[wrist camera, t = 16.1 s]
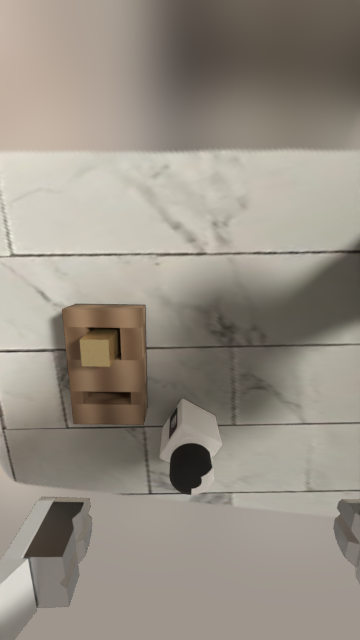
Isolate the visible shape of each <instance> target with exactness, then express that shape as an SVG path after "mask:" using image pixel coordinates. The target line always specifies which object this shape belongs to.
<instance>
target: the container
mask: <svg viewBox="0 0 360 640" xmlns="http://www.w3.org/2000/svg"><path fill="white" fill-rule="evenodd" d="M221 446H222V442H221V438H220V434H219V430H218V425H217V421H216V417H215V415H213V414H211V413H209V412H207V411H205V410H203V409H202V408H200V407H198V406H196V405H194V404H192V403H190V402H189V401H187V400H185V399H181V400H180V402H179V403H178V405H177V406H176V408H175V409H174V411H173V412H172V414H171V415H170V417H169V418H168V420H167V421H166V423H165V424H164V426H163V428H162V437H161V446H160V456H159V457H160V459H162V460H164V461H166V462H168V463H170V481H171V483H172V485H173V486H174V487H175V488H176V489H177V490H178V491H180V492H182V493H184V494H188V495H195V494H200V493H202V492H204V491H206V490H207V489H208V488H209V487H210V486H211V484H212V483H213V481H214V468H213V462H212V458H213V456H214V455H215V454H216V452H217V451H218V450H219V448H220V447H221Z"/></svg>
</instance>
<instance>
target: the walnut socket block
mask: <svg viewBox="0 0 360 640" xmlns="http://www.w3.org/2000/svg"><path fill="white" fill-rule="evenodd" d="M62 315H63V325H64V335H65V345H66V354H67V364H68V374H69V384H70V393H71V403H72V413H73V423H74V424H123V425H144V421H145V417H146V412H147V408H148V404H147V352H146V305H127V304H74V305H71V306H69V307H66V308H64V309H62ZM96 327H104V328H120V337H121V351H120V353H119V354H118V356H117V357H116V359H115V360H114V361H113V363H112V364H111V366H110V367H98V366H82V362H81V350H80V339H81V338H82V337H84V336H85V335H86V334H88V333H89V332H90V331H92V330H93V329H94V328H96Z"/></svg>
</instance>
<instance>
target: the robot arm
mask: <svg viewBox="0 0 360 640" xmlns="http://www.w3.org/2000/svg"><path fill="white" fill-rule="evenodd" d="M90 507H91V505H90V499H89V498H69V497H41V498H40V499H39V500H38V501H37V502H36V504H35V505H34V507H33V508H32V510H31V512H30V513H29V515H28V517H27V518H26V520H25V522H24V523H23V525H22V527H21V528H20V530H19V531H18V533H17V535H16V536H15V538H14V540H13V541H12V543H11V545H10V546H9V548H8V550H7V551H6V553H5V554H4V556H3V558H0V640H15V639H16V637H17V636H18V635H19V633H20V632H21V631H22V630H23V628H24V627H25V626H26V624H27V623H28V622H29V621H30V619H31V618H32V617H33V615H34V614H35V613H36V611H37V608H53V607H69V606H70V603H71V600H72V597H73V593H74V590H75V587H76V584H77V581H78V578H79V566H78V564H79V563H80V562H81V561H82V559H83V558H84V557H85V556H86V553H87V550H88V546H89V542H90V538H91V532H92V517H91V516H90V515H89V514H88V513H89V510H90ZM337 509H338V510H339V512H340V515H339V516H338V517H337V518H336V519H335V521H334V532H335V537H336V540H337V543H338V545H339V548H340V549H341V551H342V553H343V555H344V557H345V558H346V559H347V560H348V561H349V562H350V563H351V564H353V565H354V566H355V571H356V578H357V580H358V581H359V583H360V499H342V500H340V501H339V502H338V507H337Z"/></svg>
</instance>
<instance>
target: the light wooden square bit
mask: <svg viewBox="0 0 360 640" xmlns="http://www.w3.org/2000/svg"><path fill="white" fill-rule="evenodd" d="M80 350H81V362H82V366H98V367H110V366H111V364H112V363H113V361H114V360H115V359H116V357H117V356H118V354H119V353H120V351H121V337H120V328H104V327H96V328H94V329H93V330H92V331H90V332H89V333H88V334H86V335H85V336H84V337H82V338H81V339H80Z"/></svg>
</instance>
